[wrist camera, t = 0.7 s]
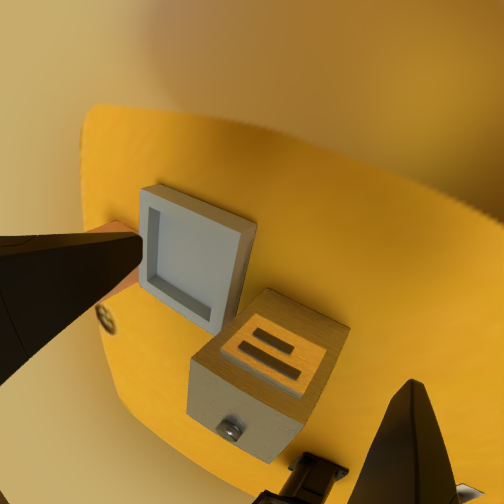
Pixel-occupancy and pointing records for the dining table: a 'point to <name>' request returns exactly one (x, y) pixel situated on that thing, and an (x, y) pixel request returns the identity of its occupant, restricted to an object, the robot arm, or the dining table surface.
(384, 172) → the dining table surface
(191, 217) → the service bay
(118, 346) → the dining table surface
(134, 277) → the block
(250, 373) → the junction box
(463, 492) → the condiment
